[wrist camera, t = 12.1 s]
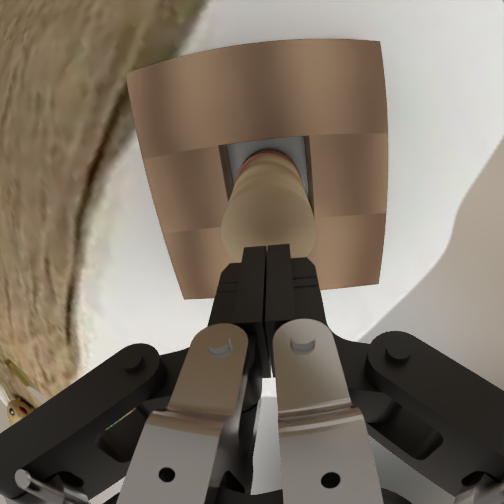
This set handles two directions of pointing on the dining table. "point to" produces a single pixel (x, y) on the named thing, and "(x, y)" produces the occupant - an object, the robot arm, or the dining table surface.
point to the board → (267, 127)
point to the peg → (268, 207)
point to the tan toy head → (17, 410)
